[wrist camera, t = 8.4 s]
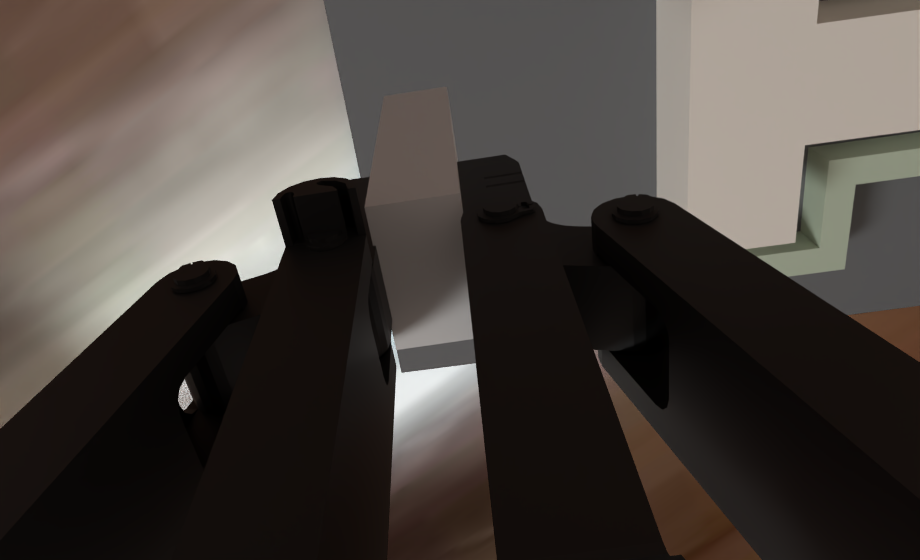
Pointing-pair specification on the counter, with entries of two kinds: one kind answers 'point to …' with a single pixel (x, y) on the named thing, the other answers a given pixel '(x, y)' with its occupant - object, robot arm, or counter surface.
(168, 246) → the counter surface
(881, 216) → the mat
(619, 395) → the counter surface
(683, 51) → the t block
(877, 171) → the bay
